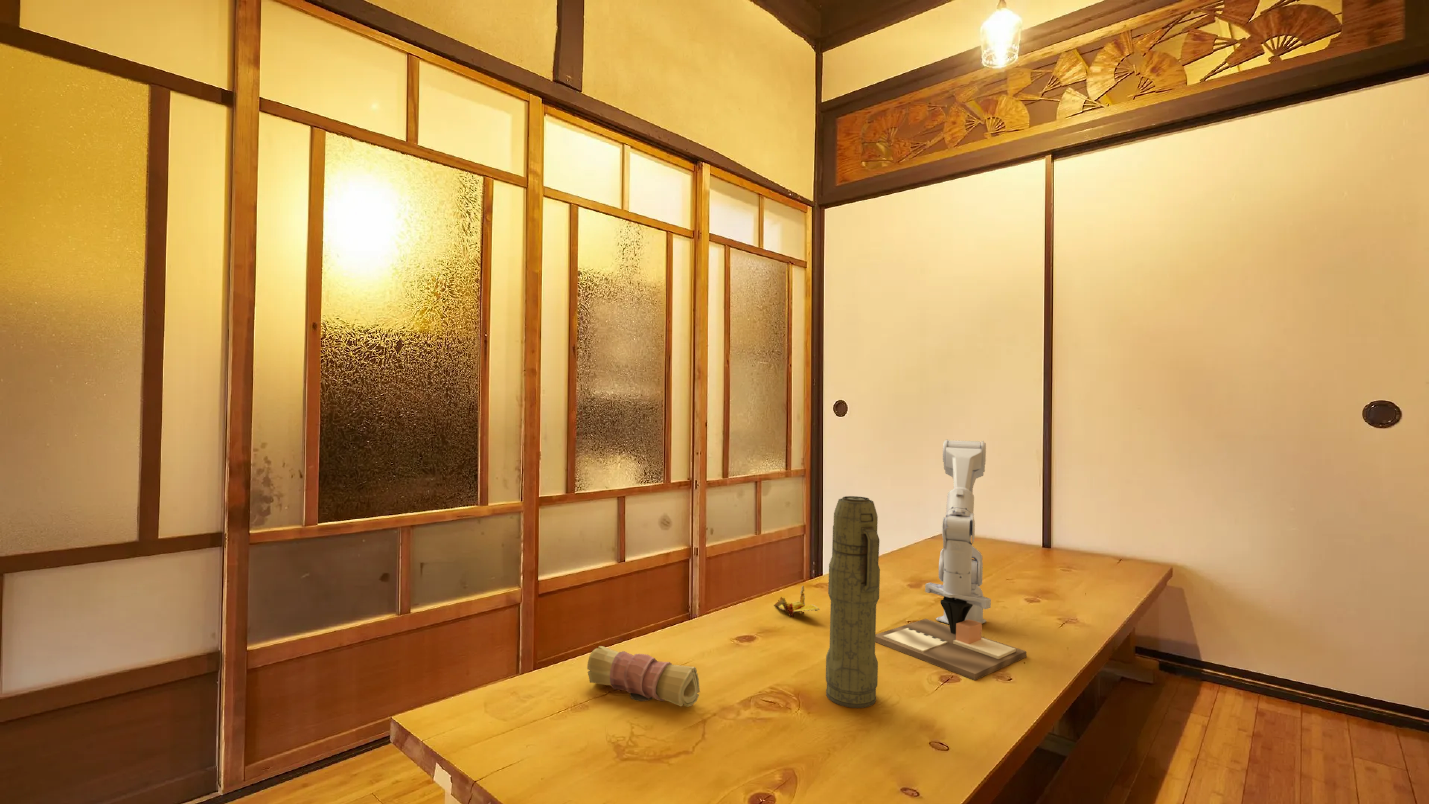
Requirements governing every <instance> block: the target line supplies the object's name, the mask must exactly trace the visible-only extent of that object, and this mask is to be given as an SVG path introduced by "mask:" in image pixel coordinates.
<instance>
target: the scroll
mask: <svg viewBox="0 0 1429 804" xmlns="http://www.w3.org/2000/svg"><path fill="white" fill-rule="evenodd" d="M587 660H588V661H587V667H586V669H587V670H588V671H587V675H588V679H589V680H588V681H589V683H592V684H598V685H605V686H611V687H612V689H614V690H616V691H617V690H619V691H626V692H627V693H629V697H630V699H632V700H634V701H637V702H646V701H651V700H652V699H655V700H658V701H661V702H665V701H667V702H669V703H672V704H674V705H677V706H679V707H682V706H684V707H688V708H689V707H692V706H693V705H694V704H695V703H696V702H697V701H698V699H699V697H700V695H699V693H701V689H700V678H699V673H697V671H698V670H697V667H695V666H689V665H680V664H673V663H672V662H671V661H658V660H657V659H656V658H655V657H653V656H651V655H649V654H646V653H645V654H644V653H635V654H634V655H633V654H631V653H629V652H627V651H624V650H622V651H617V650H614V649H611V648H609V647H605V646H602V645H599V646H598V648H597V647H596V648H594V649H593V650H592V651H591V653H590V655H589V657H588V659H587Z"/></svg>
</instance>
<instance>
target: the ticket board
mask: <svg viewBox="0 0 1429 804" xmlns="http://www.w3.org/2000/svg"><path fill="white" fill-rule="evenodd" d="M981 638H984V639H987V640H990V641H993V642H996V643H1000V644H1003V645H1006V646H1009V647H1012V648H1015V649H1016V652H1014V653H1012V654H1009V655H1007V656H1005V657H1002V658H1000V659H996V658H994V657H991V656H988V655H985V654H982V653H979V652H976V651H973V650H970V649H967V648H965V647H962V646H959V645H956V644H953V641H954V640H956V635H955V634H952V633H951V631H950V626H949V625H947V624H944V623H941V622H939V621H938V622H937V621H934V620H931V619H929V618H924V619H920V620H917V621H914V622H910V623H907V624H904V625H901V626H898V627H895V628H894V627H893V628H892V629H888V630H885V631H882V632H878V633H875V643H877V644H880V645H883V646H884V647H886V648H890V649H893V650H894V651H898V652H901V653H903V654H905V655H908V656H911V657H914V658H916V659H918V660H921V661H924V662H927V663H929V664H932V665H934V666H937V667H939V668H942V669H945V670H947V671H949V672H953V673H954V674H955V673H956V674H957V675H960V676H963V677H966V678H968V679H971V680H974V681H976V680H979V679H981V678H983V677H985V676H987V675H989V674H991V673H995V672H997V671H999V670H1000V669H1003V668H1005V667H1007V666H1010V665H1011V664H1014V663H1016V662H1018V661H1021V660H1022V659H1024V658H1026V657H1027V650H1024V649H1021V648H1017V647H1015V646H1012V645H1008V644H1005V643H1004V642H999V641H997V640H992V639H989V638H987V637H984V636H981Z"/></svg>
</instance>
